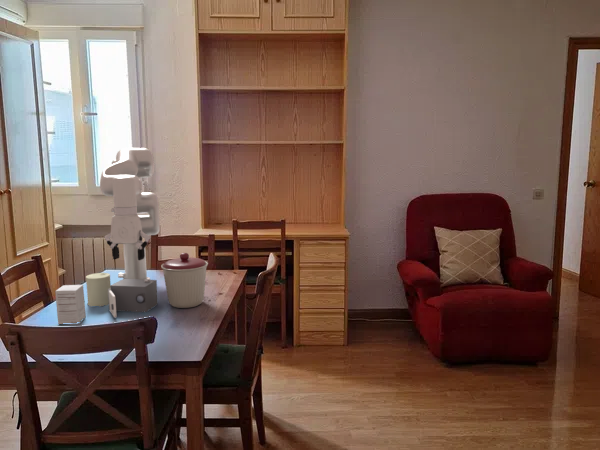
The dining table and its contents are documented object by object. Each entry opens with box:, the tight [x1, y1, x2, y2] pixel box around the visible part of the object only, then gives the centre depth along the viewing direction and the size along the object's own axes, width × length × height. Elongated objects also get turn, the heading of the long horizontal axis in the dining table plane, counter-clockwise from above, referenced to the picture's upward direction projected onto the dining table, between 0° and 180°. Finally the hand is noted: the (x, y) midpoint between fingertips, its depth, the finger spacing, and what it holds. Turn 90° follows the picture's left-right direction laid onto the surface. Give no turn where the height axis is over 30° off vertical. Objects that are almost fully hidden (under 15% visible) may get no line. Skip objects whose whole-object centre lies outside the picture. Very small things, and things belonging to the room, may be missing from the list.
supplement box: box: [54, 284, 87, 324], centre depth 173 cm, size 7×7×13 cm
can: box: [85, 272, 112, 307], centre depth 193 cm, size 9×9×12 cm
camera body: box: [110, 278, 159, 313], centre depth 187 cm, size 14×11×11 cm
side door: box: [108, 289, 118, 318], centre depth 179 cm, size 10×2×8 cm, turn 31°
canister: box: [160, 252, 209, 309], centre depth 190 cm, size 18×18×21 cm
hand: (128, 259), depth 172 cm, fingers open, 9 cm apart
